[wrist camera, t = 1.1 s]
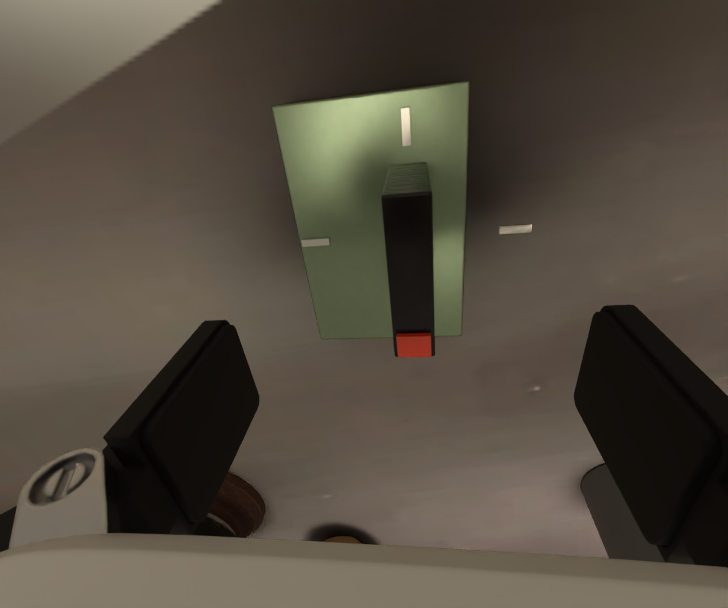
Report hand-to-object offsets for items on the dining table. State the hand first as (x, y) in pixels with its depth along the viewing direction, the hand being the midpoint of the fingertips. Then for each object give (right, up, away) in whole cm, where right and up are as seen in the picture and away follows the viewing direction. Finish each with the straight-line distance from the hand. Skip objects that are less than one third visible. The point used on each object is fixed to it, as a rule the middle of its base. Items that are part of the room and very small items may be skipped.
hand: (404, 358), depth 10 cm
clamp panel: (+1, +6, +10) cm, 12 cm away
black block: (+1, +5, +7) cm, 9 cm away
